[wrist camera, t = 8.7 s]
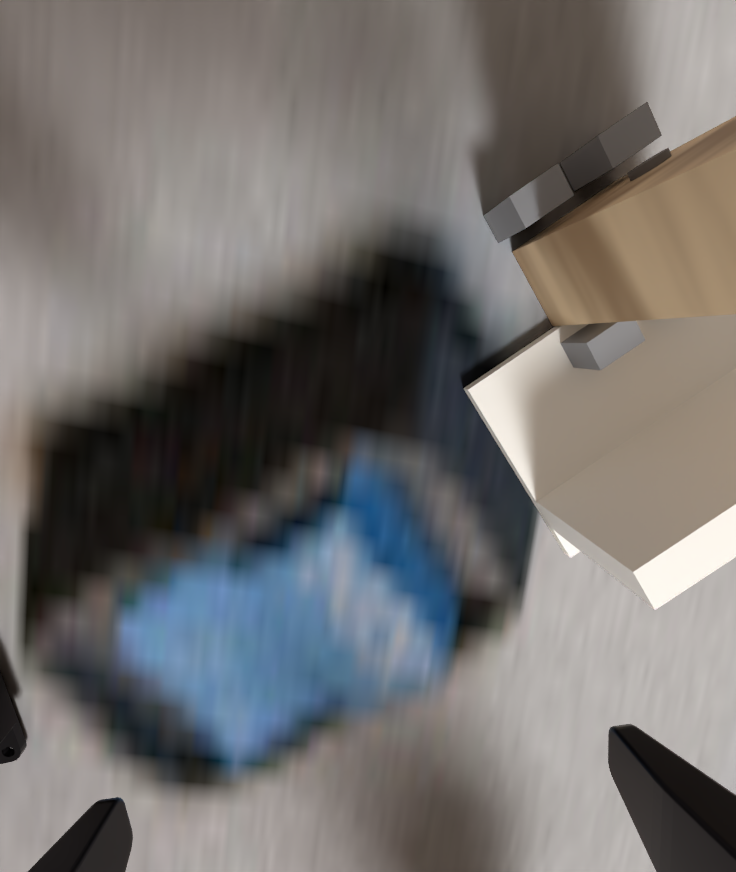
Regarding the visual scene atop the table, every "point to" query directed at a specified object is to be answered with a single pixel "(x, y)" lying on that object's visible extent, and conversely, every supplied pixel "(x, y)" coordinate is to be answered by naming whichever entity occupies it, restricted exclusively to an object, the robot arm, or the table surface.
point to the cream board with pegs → (620, 414)
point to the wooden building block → (645, 242)
